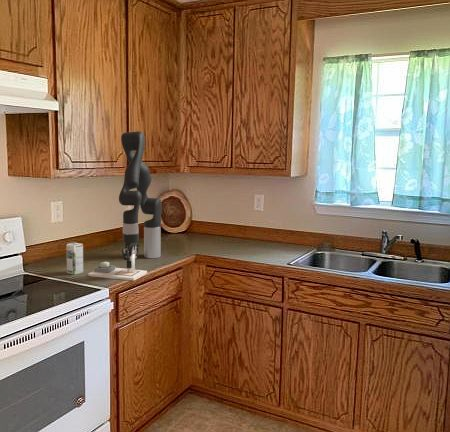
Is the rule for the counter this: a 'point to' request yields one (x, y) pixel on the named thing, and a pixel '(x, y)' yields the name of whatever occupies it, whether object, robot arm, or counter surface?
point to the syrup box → (74, 258)
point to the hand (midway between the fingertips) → (131, 267)
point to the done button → (104, 264)
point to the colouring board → (116, 273)
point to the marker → (132, 263)
